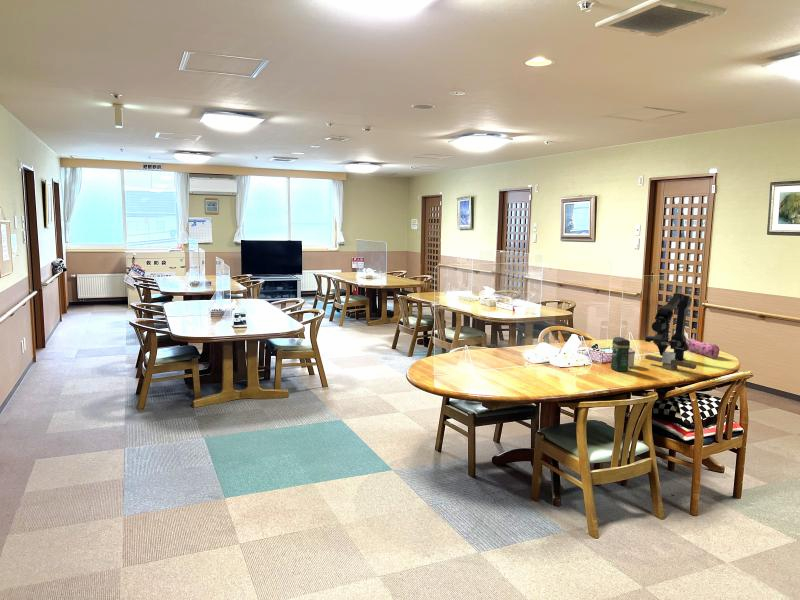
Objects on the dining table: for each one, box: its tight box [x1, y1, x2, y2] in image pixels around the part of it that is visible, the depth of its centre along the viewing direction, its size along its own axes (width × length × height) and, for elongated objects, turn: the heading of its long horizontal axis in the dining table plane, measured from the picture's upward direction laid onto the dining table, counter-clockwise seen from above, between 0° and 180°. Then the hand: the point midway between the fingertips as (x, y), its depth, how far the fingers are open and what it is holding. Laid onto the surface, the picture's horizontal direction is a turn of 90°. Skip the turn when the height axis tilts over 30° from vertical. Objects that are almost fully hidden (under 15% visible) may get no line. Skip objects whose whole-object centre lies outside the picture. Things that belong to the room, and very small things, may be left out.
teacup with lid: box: [628, 347, 636, 368], centre depth 344 cm, size 12×9×12 cm
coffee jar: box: [610, 336, 631, 373], centre depth 334 cm, size 10×8×19 cm
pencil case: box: [686, 337, 720, 359], centre depth 374 cm, size 21×9×9 cm, turn 16°
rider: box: [661, 350, 675, 364], centre depth 340 cm, size 5×5×6 cm
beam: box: [644, 354, 698, 371], centre depth 340 cm, size 6×28×5 cm, turn 42°
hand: (661, 355), depth 343 cm, fingers closed
